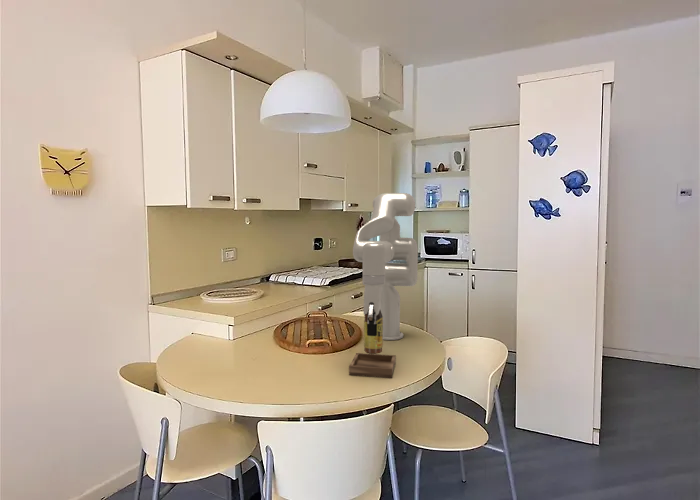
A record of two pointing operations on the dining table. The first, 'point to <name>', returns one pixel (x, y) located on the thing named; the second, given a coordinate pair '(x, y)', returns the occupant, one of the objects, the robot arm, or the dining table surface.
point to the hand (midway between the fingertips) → (373, 332)
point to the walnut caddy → (372, 365)
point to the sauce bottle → (374, 342)
